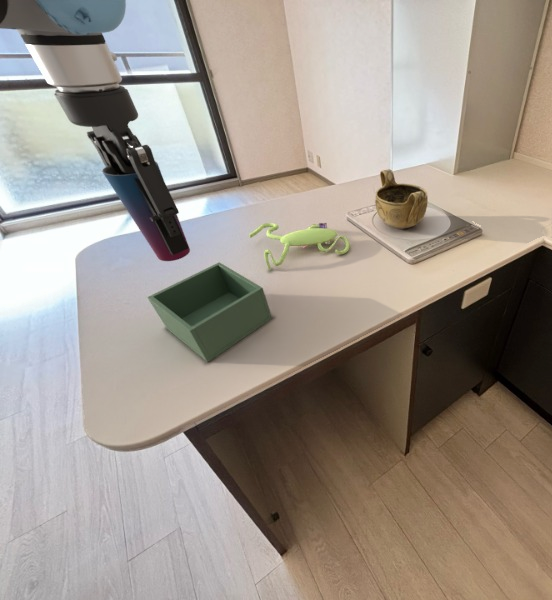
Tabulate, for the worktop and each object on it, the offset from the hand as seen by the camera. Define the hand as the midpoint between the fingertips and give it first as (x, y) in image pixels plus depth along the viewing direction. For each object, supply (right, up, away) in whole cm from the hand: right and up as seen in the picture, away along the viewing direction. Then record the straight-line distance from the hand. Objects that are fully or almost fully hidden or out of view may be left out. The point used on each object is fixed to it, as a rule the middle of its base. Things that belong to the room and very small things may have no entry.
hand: (169, 244), depth 56 cm
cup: (0, -2, +1) cm, 2 cm away
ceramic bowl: (+40, +16, +54) cm, 69 cm away
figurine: (+10, +6, +41) cm, 42 cm away
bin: (0, -15, +16) cm, 22 cm away
